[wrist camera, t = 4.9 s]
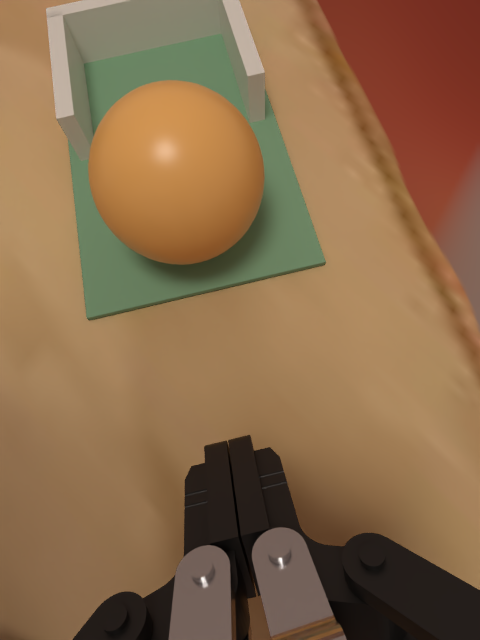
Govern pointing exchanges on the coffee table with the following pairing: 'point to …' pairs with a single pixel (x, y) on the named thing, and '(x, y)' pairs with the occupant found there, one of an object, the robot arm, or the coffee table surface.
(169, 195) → the ball
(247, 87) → the white side walls
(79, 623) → the coffee table surface
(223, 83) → the felt strip
